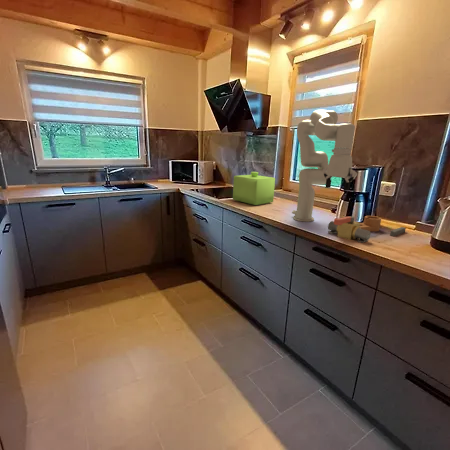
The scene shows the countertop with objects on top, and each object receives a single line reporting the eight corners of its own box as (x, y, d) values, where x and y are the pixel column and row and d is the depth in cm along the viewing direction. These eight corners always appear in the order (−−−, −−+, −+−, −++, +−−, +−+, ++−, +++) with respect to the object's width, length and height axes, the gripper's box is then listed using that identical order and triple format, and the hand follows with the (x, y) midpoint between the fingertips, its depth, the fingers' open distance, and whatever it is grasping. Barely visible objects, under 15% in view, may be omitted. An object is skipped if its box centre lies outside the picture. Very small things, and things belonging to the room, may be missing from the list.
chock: (389, 235, 145) (390, 231, 145) (400, 231, 154) (401, 226, 153) (393, 236, 144) (394, 231, 143) (404, 231, 152) (405, 227, 151)
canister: (232, 199, 224) (233, 171, 217) (250, 196, 238) (252, 170, 231) (255, 205, 207) (257, 174, 200) (273, 201, 220) (275, 172, 214)
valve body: (326, 232, 146) (328, 218, 143) (333, 230, 150) (335, 216, 148) (363, 244, 131) (366, 228, 128) (370, 241, 135) (373, 225, 132)
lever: (348, 220, 140) (349, 214, 139) (355, 221, 138) (356, 216, 137) (332, 224, 132) (333, 218, 131) (339, 226, 129) (340, 220, 128)
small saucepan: (372, 227, 160) (374, 215, 158) (382, 231, 152) (384, 219, 150) (344, 228, 157) (346, 216, 155) (353, 232, 149) (355, 220, 147)
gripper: (321, 151, 131) (316, 187, 136) (355, 153, 118) (349, 192, 123) (330, 151, 135) (325, 186, 140) (364, 153, 122) (358, 191, 127)
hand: (336, 189), depth 131 cm, fingers open, 9 cm apart
